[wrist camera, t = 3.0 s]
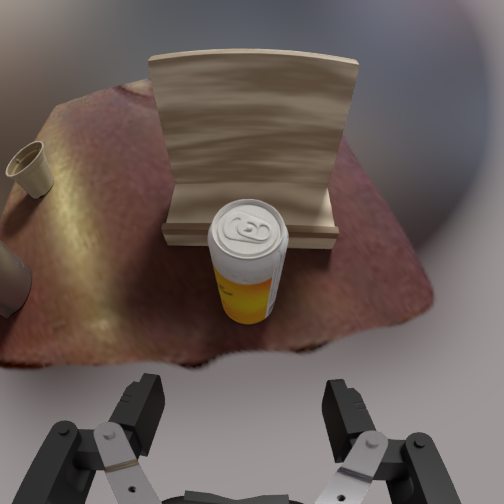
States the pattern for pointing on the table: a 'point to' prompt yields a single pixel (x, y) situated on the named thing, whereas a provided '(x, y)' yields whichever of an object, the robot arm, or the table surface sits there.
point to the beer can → (248, 257)
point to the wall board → (252, 136)
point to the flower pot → (31, 170)
